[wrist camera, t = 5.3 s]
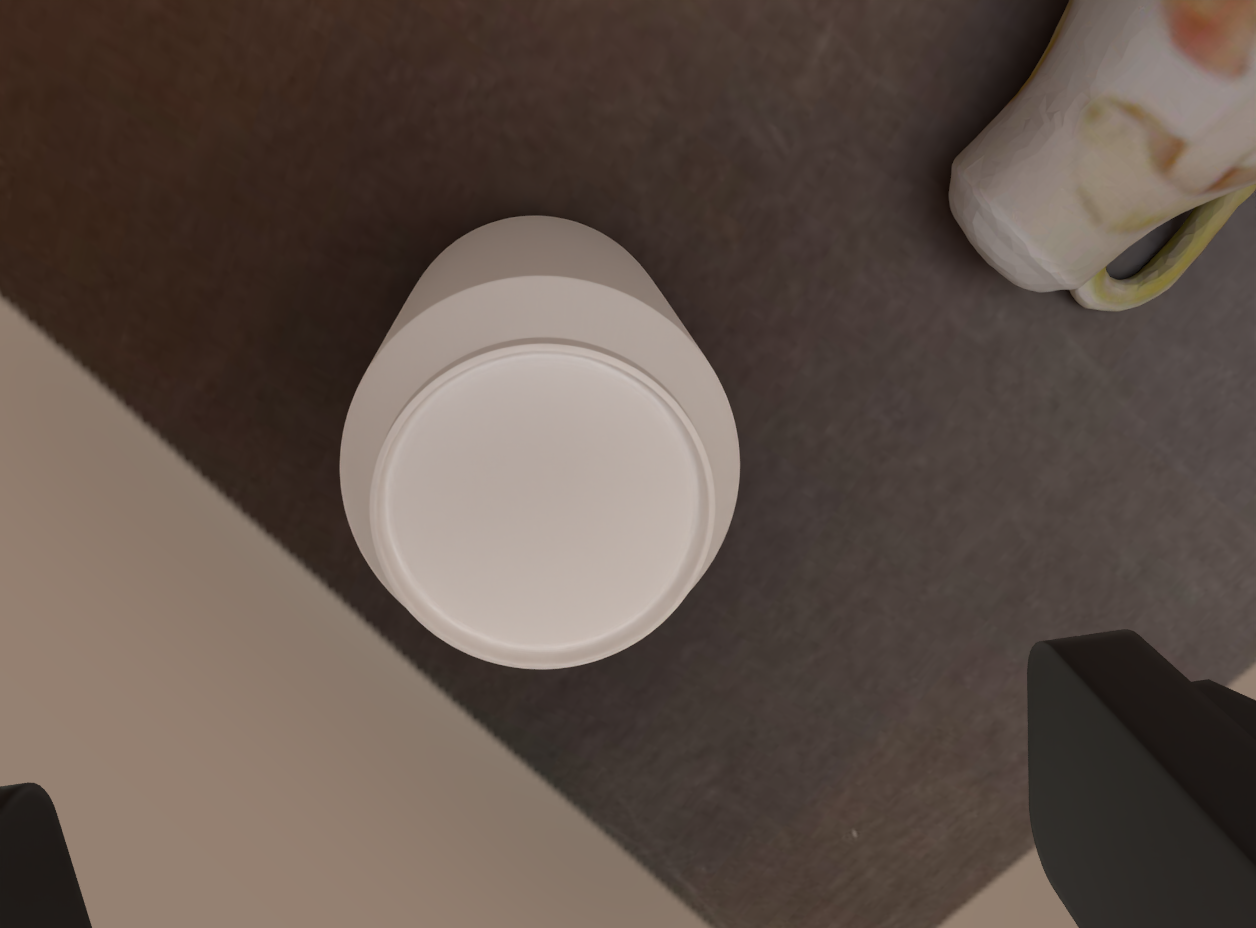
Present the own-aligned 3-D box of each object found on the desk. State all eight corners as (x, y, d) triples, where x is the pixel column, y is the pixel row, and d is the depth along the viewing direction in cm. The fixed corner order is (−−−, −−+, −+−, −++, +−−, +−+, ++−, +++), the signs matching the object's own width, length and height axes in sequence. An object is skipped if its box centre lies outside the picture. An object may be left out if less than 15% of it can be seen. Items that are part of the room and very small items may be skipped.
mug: (826, 187, 28) (1082, -88, 18) (1058, -39, 31) (1381, -376, 21) (1049, 414, 28) (1417, 258, 18) (1257, 167, 31) (1665, -76, 21)
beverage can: (717, 303, 28) (847, 447, 17) (576, 512, 29) (608, 778, 18) (492, 156, 27) (469, 204, 15) (355, 383, 28) (238, 582, 17)
